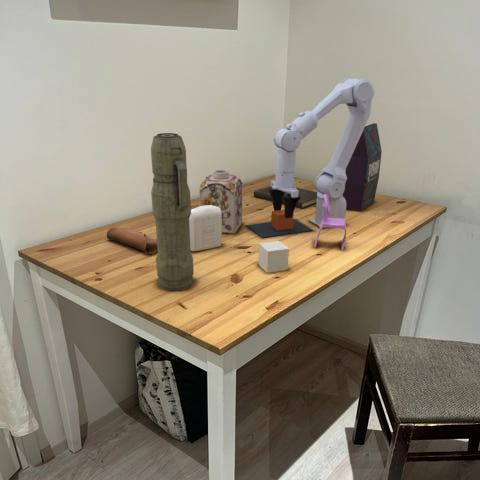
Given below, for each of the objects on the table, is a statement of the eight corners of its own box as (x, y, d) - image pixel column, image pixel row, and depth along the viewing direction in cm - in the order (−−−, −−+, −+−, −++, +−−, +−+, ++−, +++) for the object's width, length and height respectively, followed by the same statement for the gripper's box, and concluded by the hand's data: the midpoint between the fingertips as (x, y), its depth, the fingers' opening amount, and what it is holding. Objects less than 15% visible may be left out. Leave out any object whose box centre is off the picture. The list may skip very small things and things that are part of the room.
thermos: (176, 296, 115) (168, 140, 97) (147, 280, 122) (134, 133, 104) (205, 285, 120) (201, 136, 103) (175, 271, 127) (167, 129, 110)
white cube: (278, 261, 134) (279, 240, 131) (287, 269, 129) (289, 248, 126) (258, 264, 132) (258, 243, 129) (266, 272, 127) (267, 251, 124)
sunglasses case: (168, 245, 142) (158, 229, 136) (154, 263, 139) (143, 247, 134) (128, 232, 151) (117, 216, 146) (114, 248, 149) (102, 233, 144)
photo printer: (216, 242, 146) (216, 201, 140) (224, 246, 143) (223, 205, 137) (186, 248, 141) (184, 206, 135) (193, 253, 138) (191, 210, 132)
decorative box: (375, 201, 186) (387, 123, 172) (361, 212, 174) (373, 129, 160) (355, 198, 190) (365, 121, 176) (339, 208, 177) (349, 127, 164)
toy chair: (344, 251, 141) (351, 200, 133) (314, 249, 142) (318, 198, 135) (344, 241, 148) (350, 192, 140) (315, 239, 149) (320, 190, 142)
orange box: (286, 224, 160) (287, 209, 158) (292, 228, 157) (293, 213, 154) (270, 226, 158) (271, 211, 156) (277, 230, 155) (278, 215, 152)
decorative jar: (208, 220, 164) (207, 165, 155) (242, 222, 162) (243, 167, 153) (199, 231, 154) (197, 174, 145) (235, 234, 152) (235, 176, 143)
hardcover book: (278, 189, 200) (278, 183, 199) (325, 200, 187) (326, 194, 186) (253, 196, 190) (253, 191, 188) (301, 208, 176) (302, 202, 175)
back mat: (294, 220, 165) (294, 218, 165) (312, 231, 156) (312, 229, 156) (246, 226, 159) (246, 225, 159) (262, 238, 150) (262, 236, 149)
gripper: (263, 167, 153) (261, 209, 160) (284, 177, 142) (282, 222, 148) (282, 165, 156) (280, 206, 162) (305, 175, 144) (302, 219, 151)
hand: (282, 214), depth 155 cm, fingers open, 7 cm apart
